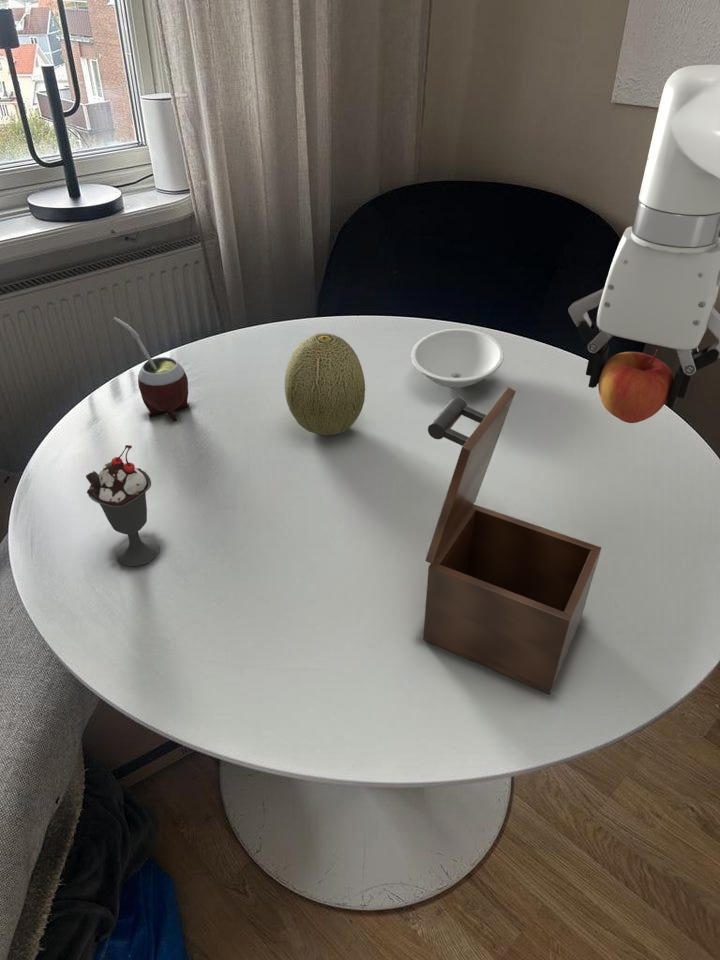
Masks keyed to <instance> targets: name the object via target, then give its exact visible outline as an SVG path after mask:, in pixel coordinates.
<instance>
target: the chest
mask: <svg viewBox="0 0 720 960" xmlns="http://www.w3.org/2000/svg"><path fill="white" fill-rule="evenodd" d="M601 551H602V547H601V546H599V545H595V544H593V543H590V542H587V541H584V540H581V539H579V538H575V537H573V536H570V535H566V534H563V533H560V532H557V531H554V530H551V529H549V528H545V527H543V526H540V525H537V524H534V523H530V522H528V521H525V520H522V519H519V518H516V517H513V516H510V515H507V514H504V513H501V512H499V511H496V510H493V509H489V508H488V507H483V506H481V505H477V504H475V503H474V504H473V506H472V507H471V509H470V510H469V511H468V513H467V514H466V516H465V517H464V519H463V520H462V522H461V523H460V525H459V526H458V528H457V529H456V531H455V532H454V534H453V535H452V537H451V538H450V539H449V541H448V542H447V544H446V545H445V547H444V548H443V550H442V551H441V553H440V554H439V556H438V557H437V559H436V560H435V562H434V563H433V564H430V563H429V565H428V569H427V583H426V596H425V606H424V607H425V610H424V621H423V622H424V623H423V632H422V633H423V635H422V639H423V641H425V642H428V643H430V644H432V645H435V646H437V647H440V648H442V649H444V650H446V651H449V652H451V653H453V654H455V655H458V656H460V657H463V658H464V659H467V660H469V661H472V662H475V663H476V664H479V665H481V666H484V667H485V668H488V669H490V670H493V671H495V672H497V673H499V674H502V675H504V676H507V677H509V678H512V679H513V680H516V681H518V682H521V683H522V684H525V685H528V686H530V687H531V688H535V689H537V690H539V691H541V692H543V693H546V694H549V695H551V693H552V691H553V689H554V686H555V684H556V682H557V680H558V679H557V678H558V676H559V674H560V671H561V669H562V667H563V664H564V662H565V659H566V657H567V654H568V652H569V650H570V647H571V645H572V643H573V640H574V637H575V635H576V632H577V630H578V628H579V625H580V623H581V622H582V618H583V614H584V611H585V607H586V603H587V600H588V596H589V592H590V589H591V586H592V582H593V579H594V575H595V571H596V569H597V565H598V563H599V558H600V554H601Z"/></svg>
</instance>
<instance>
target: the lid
mask: <svg viewBox="0 0 720 960" xmlns="http://www.w3.org/2000/svg"><path fill="white" fill-rule="evenodd" d="M515 394H516V390H515V389H513V388H512V387H507V388H506V389H505V391H504V392H503V393H502V395H501V396H500V397H499V398H498V400H497V401H496V402H495V404H494V405H493V406H492V407H491V409H489V411H488V413H487V414H485V413H483V412H481V411H479V410H476V409H474V408H472V407H469V406H468V405H467V402H466V401H465V399H464V398H463V397H460V396H455V397H453V398H451V399H450V400H449V402H448V403H447V404H446V405H445V407H444V408H442V410H441V411H440V412H439V413H438V415H437V416H436V417H435V418H434V419H433V420H432V422H430V424H429V425H428V427H427V433H428V435H429V436H430V437H431V438H433V439H435V440H442V439H443V438H444V439H447V440H448V441H451V442H453V443H454V444H457V445H459V446H461V449H460V452H459V454H458V458H457V461H456V464H455V468H454V469H453V470H454V471H453V474H452V476H451V480H450V482H449V486H448V489H447V492H446V495H445V499H444V502H443V504H442V508H441V511H440V513H439V516H438V519H437V523H436V526H435V529H434V532H433V535H432V538H431V541H430V544H429V548H428V550H427V553H426V557H425V562H426V563H428V564H429V565H430V564H433V563H434V562H435V560H436V559H437V557H438V556H439V554H440V553H441V551H442V550H443V548H444V547H445V545H446V544H447V542H448V541H449V539H450V538H451V537H452V535H453V534H454V532H455V531H456V529H457V528H458V526H459V525H460V523H461V522H462V520H463V519H464V517H465V516H466V514H467V513H468V511H469V510H470V509H471V507H472V506H473V504H475V503H476V501H477V498H478V495H479V493H480V489H481V487H482V484H483V482H484V479H485V476H486V473H487V470H488V468H489V465H490V463H491V460H492V457H493V454H494V452H495V449H496V446H497V443H498V441H499V438H500V435H501V433H502V430H503V427H504V424H505V422H506V419H507V416H508V414H509V412H510V411H509V410H510V408H511V406H512V403H513V400H514V397H515ZM461 416H463V417H465V418H468V419H470V420H472V421H474V422H476V423H478V425H477V427H476V428H475V430H474V431H473V432H472V433H471V434H470V436H467V435H465V434H463V433H461V432H459V431H456V430H455V429H452V428H453V426H454V425H455V424H456V423H457V422H458V420H459V419H460V418H461Z"/></svg>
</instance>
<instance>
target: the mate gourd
mask: <svg viewBox="0 0 720 960" xmlns="http://www.w3.org/2000/svg"><path fill="white" fill-rule="evenodd" d="M113 320H114V321H116V322H117V323H119V324H120V325H121V326H122V327H124V328H125V329H126V330H127V331H129V333H130V335H131V337H133V340H135V341H136V343H137V344H138V347H139V348H140V349H141V351H142V353H143V355H144V356H145V358H146V360H147V361H145V362H144V363H143V364H142V365H141V366H140V368H139V369H140V370H139V372H138V375H137V384H138V385H137V386H138V389H139V392H140V396H141V399H142V402H143V404H144V405H145V407H146V409H147V411H148V413H147V415H148V418H156V417H159V416H163V415H167V416H168V417H169V419H170V421H171V422H172V423H174V422H177V421H178V418H177V415H176V414H175V412H179V411H183V410H186V409H189V408H190V403H189V402H188V398H189V379H188V375H187V374H186V371H185V368H184V367H183V366H182V364H181V363H180V362H179V361H177V360H176V359H174V358H173V357H166V356H161V357H154V358H151V356H150V354H149V352H148V350H147V349H146V347H145V345H144V344H143V342H142V340H141V338H140V335H139V334H138V332H137V331H136V330H135V329H134V328H132V327H131V326H130V325H129V323H126V322H125V321H123V320H121V319H120V318H118V317H117V316H114V317H113Z"/></svg>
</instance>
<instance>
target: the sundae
mask: <svg viewBox="0 0 720 960" xmlns="http://www.w3.org/2000/svg"><path fill="white" fill-rule="evenodd" d="M132 448H133V445H131V444H130V445H129V444H126V445H124V449H123V450H122V452H121V453H120V455H119V456H115V457H113V458H112V459H111V461H110V462H108V463H105V464H104V465H103V467H102V468H101V469H100V470H99V473H98V472H96V471H95V470H93V471H92V472H91V471H90V472H89V473H87V474H86V475H85V478H86V480H87V481H88V482H89V484H90V485H89V488H88V489H87V490H86V494H88V495H87V496H88V497H89V498H90V500H92V501H93V502H95V503H97V504H98V505H99V506H100V507H101V510H102V511H103V514H104V516H105V517H106V519H107V521H108V523H109V524H110V526H111V527H112V528H113V530H115V531H116V532H117V533H120V534H123V535H127V537H128V540H126V541H125V542H123V543H122V544H121V545H120V546H119V547H118V549H117V551H116V559H117V561H118V562H119V563H120V564H121V565H123V566H127V567H139V566H143V565H146V564H147V563H150V562H151V561H153V560H154V559H155V558H156V557H157V555H158V553H159V552H160V544H159V543H158V542H157V540H155V539H153V538H151V537H149V536H140V534H139V531H141V530H142V529H143V528H144V527H145V525H146V524H147V521H148V505H147V497H146V496H147V495H146V494H147V491H149V490H150V488H152V487H151V486H152V479H151V476H150V475H149V474H148V473H147V472H146V471H145V470H143V469H142V468H140V467H137V468H136V467H135V466H136V465H135V464H134V463H133V462H129V461H128V453H129V451H130V449H132ZM126 449H127V451H126V453H125V450H126ZM124 453H125V463H124V461H123V458H121V457H122V456H123V455H124Z"/></svg>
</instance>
